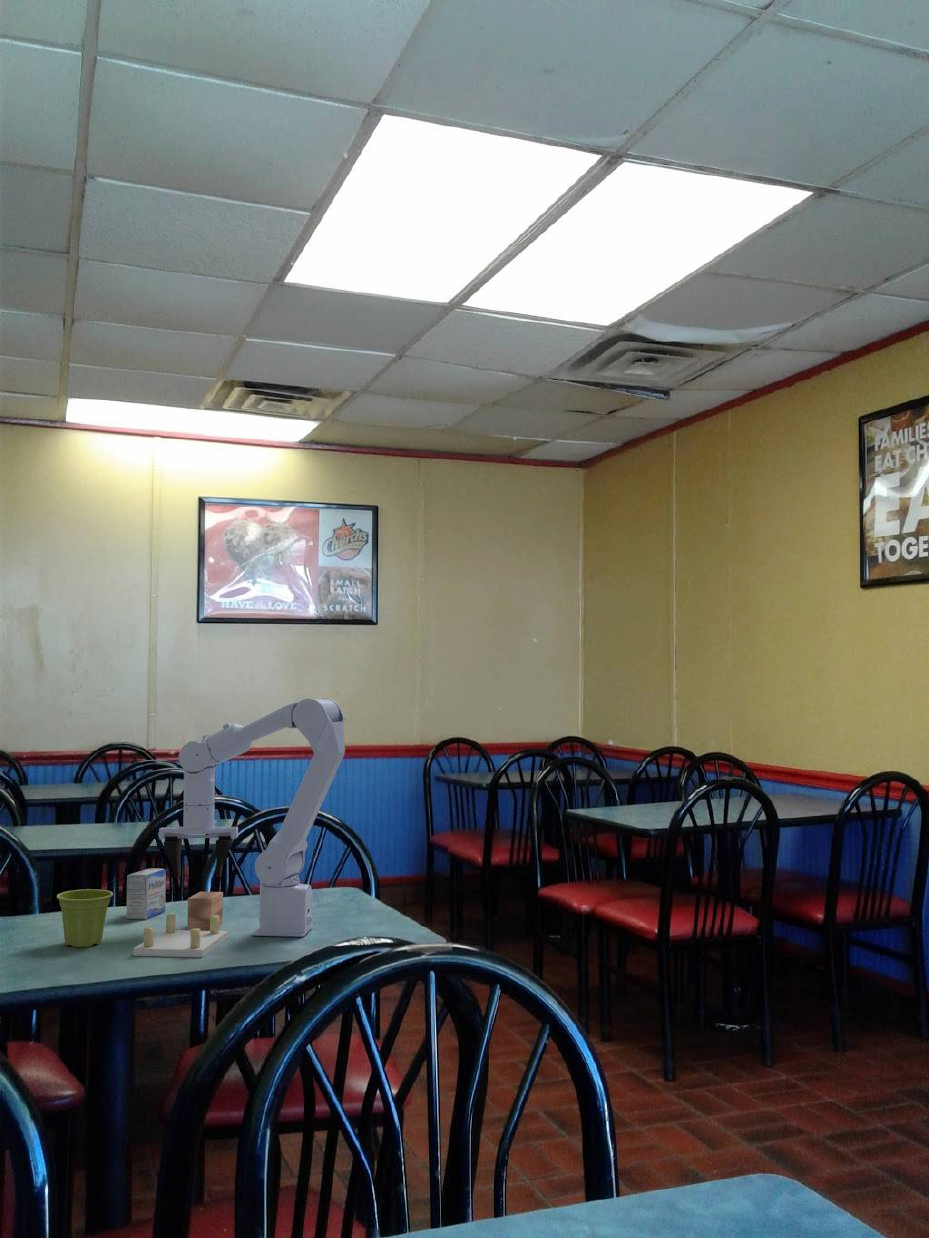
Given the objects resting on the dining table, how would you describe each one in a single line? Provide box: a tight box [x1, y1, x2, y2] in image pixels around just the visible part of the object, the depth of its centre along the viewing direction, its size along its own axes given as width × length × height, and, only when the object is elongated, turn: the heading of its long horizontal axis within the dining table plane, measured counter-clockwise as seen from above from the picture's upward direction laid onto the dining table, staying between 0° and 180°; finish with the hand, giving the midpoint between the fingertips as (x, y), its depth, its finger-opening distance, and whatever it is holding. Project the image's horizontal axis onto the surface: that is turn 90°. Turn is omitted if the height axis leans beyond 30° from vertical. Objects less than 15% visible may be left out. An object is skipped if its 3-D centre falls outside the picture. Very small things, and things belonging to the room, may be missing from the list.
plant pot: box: [56, 888, 114, 948], centre depth 190 cm, size 9×9×9 cm
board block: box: [186, 891, 224, 931], centre depth 203 cm, size 4×7×6 cm, turn 175°
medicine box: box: [126, 867, 167, 921], centre depth 213 cm, size 8×4×9 cm, turn 168°
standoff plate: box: [133, 914, 229, 958], centre depth 187 cm, size 12×14×4 cm
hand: (198, 876), depth 203 cm, fingers open, 7 cm apart
